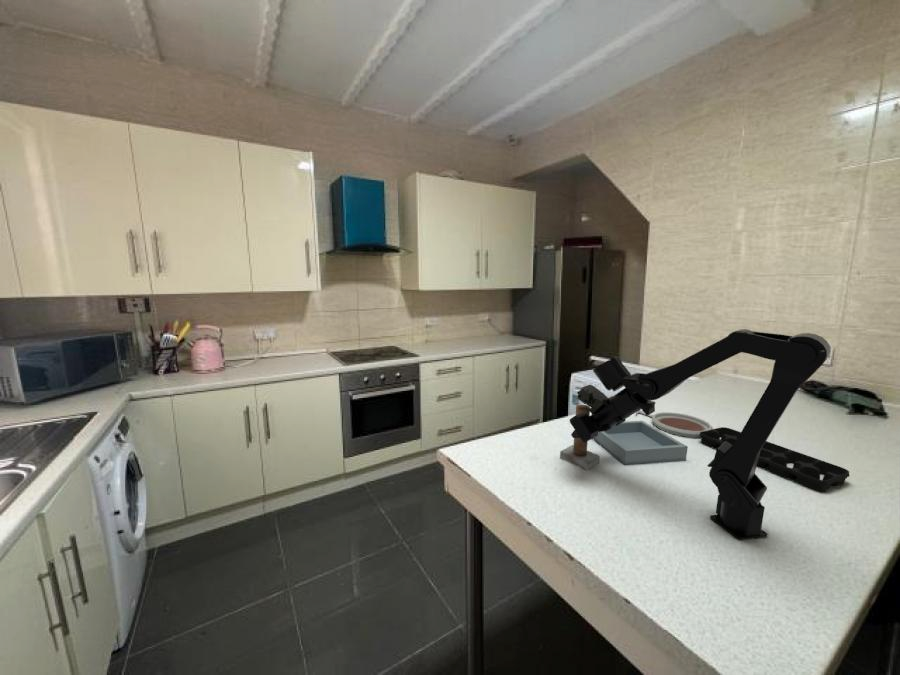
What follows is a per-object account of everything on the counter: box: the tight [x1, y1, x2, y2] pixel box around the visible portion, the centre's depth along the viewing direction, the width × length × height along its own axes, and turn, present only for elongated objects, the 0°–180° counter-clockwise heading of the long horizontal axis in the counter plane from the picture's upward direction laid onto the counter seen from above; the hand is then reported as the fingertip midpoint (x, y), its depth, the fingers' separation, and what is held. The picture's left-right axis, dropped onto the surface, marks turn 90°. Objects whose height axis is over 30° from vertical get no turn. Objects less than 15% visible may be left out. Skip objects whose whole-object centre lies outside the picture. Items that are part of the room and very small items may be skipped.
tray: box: [592, 420, 688, 466], centre depth 103 cm, size 18×18×4 cm
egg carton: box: [699, 427, 850, 493], centre depth 96 cm, size 18×30×4 cm, turn 34°
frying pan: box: [635, 409, 714, 439], centre depth 122 cm, size 17×3×28 cm
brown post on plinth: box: [559, 404, 601, 471], centre depth 94 cm, size 8×6×15 cm
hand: (576, 434), depth 96 cm, fingers closed on brown post on plinth, 3 cm apart
